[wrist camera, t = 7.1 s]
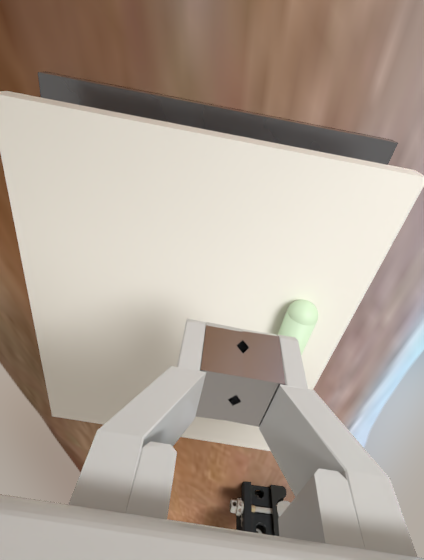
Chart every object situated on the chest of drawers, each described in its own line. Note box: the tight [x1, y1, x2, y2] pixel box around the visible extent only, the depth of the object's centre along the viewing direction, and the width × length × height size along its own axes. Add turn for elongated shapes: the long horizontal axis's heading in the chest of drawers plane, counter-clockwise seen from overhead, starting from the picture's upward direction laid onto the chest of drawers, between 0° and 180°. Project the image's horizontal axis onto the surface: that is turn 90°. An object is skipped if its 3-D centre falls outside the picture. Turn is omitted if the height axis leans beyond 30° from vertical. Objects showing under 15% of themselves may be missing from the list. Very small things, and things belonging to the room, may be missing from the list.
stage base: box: [38, 72, 398, 165], centre depth 22 cm, size 23×19×4 cm
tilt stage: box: [0, 91, 424, 451], centre depth 19 cm, size 22×18×3 cm
